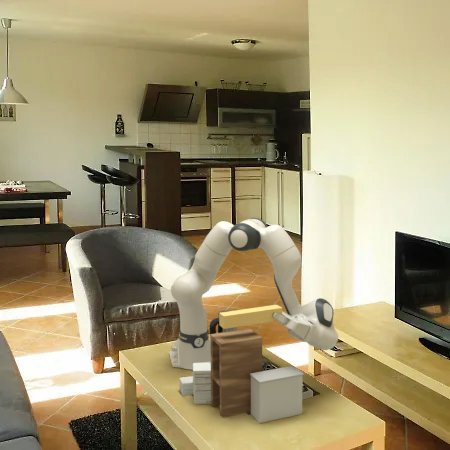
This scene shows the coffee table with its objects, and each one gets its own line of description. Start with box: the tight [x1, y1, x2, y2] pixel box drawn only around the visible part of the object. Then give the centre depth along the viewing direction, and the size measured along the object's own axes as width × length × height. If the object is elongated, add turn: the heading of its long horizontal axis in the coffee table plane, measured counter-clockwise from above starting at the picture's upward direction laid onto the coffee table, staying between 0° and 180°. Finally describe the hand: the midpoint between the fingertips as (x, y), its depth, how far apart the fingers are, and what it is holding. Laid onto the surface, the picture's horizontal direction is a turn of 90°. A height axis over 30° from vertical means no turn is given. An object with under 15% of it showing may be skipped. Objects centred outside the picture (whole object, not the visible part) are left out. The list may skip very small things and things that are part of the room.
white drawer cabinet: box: [192, 362, 211, 405], centre depth 212 cm, size 7×7×13 cm
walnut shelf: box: [209, 328, 263, 418], centre depth 205 cm, size 10×15×26 cm, turn 113°
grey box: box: [250, 365, 304, 424], centre depth 201 cm, size 7×16×14 cm, turn 113°
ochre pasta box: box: [219, 304, 283, 329], centre depth 204 cm, size 4×22×4 cm, turn 113°
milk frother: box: [208, 309, 238, 335], centre depth 260 cm, size 14×16×15 cm
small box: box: [179, 375, 194, 397], centre depth 219 cm, size 6×6×5 cm
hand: (269, 312), depth 206 cm, fingers closed on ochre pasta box, 4 cm apart
